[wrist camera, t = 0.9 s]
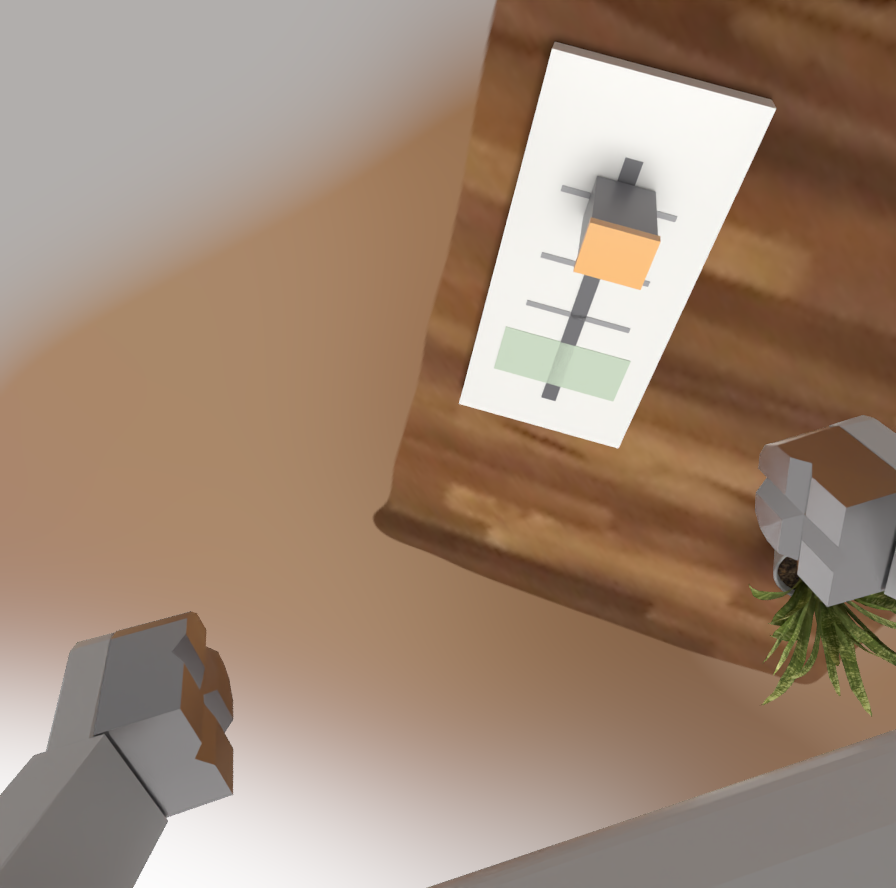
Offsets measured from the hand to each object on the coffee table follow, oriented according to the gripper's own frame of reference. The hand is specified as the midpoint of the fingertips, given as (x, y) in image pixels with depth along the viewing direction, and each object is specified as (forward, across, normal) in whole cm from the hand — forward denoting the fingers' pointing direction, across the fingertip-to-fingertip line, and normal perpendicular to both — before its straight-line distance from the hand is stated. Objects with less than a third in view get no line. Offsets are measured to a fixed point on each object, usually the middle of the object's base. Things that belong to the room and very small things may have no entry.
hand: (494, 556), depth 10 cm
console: (+42, -18, +16) cm, 49 cm away
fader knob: (+39, -19, +10) cm, 45 cm away
